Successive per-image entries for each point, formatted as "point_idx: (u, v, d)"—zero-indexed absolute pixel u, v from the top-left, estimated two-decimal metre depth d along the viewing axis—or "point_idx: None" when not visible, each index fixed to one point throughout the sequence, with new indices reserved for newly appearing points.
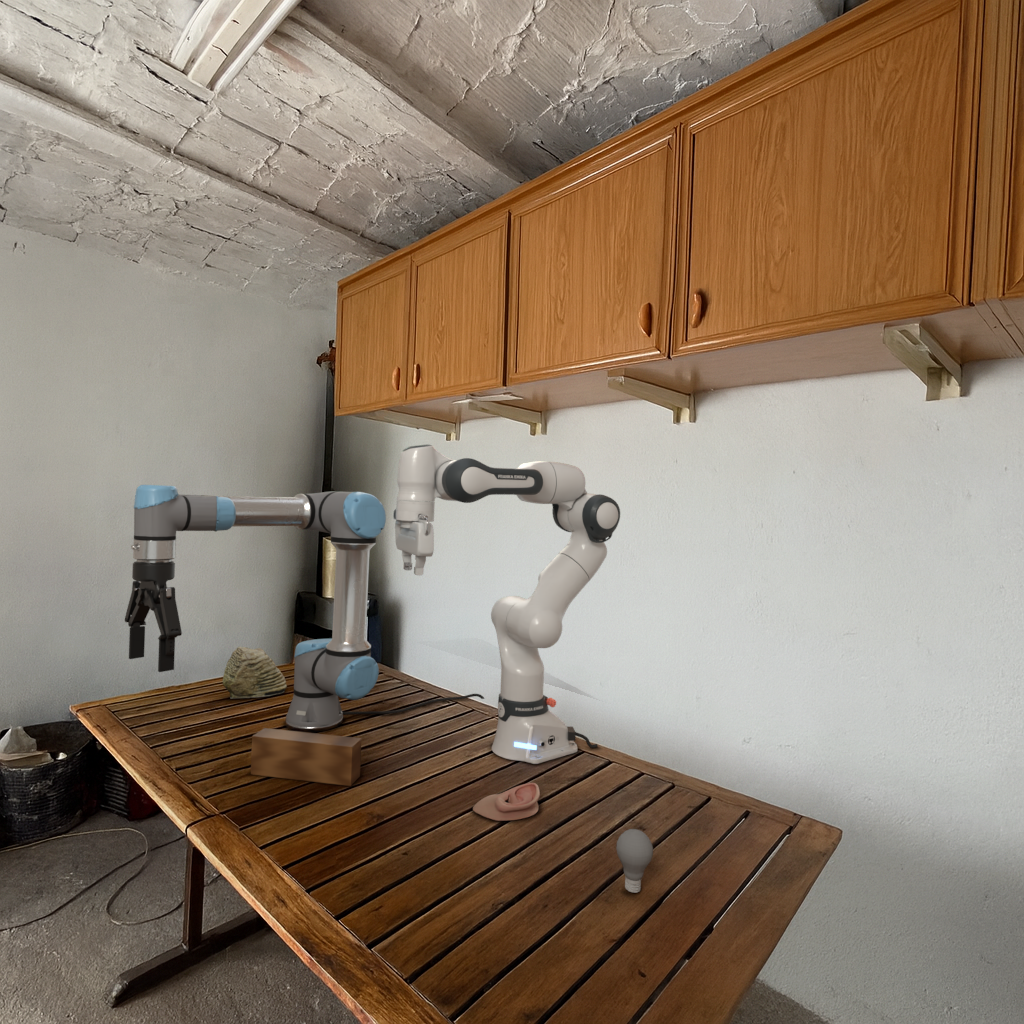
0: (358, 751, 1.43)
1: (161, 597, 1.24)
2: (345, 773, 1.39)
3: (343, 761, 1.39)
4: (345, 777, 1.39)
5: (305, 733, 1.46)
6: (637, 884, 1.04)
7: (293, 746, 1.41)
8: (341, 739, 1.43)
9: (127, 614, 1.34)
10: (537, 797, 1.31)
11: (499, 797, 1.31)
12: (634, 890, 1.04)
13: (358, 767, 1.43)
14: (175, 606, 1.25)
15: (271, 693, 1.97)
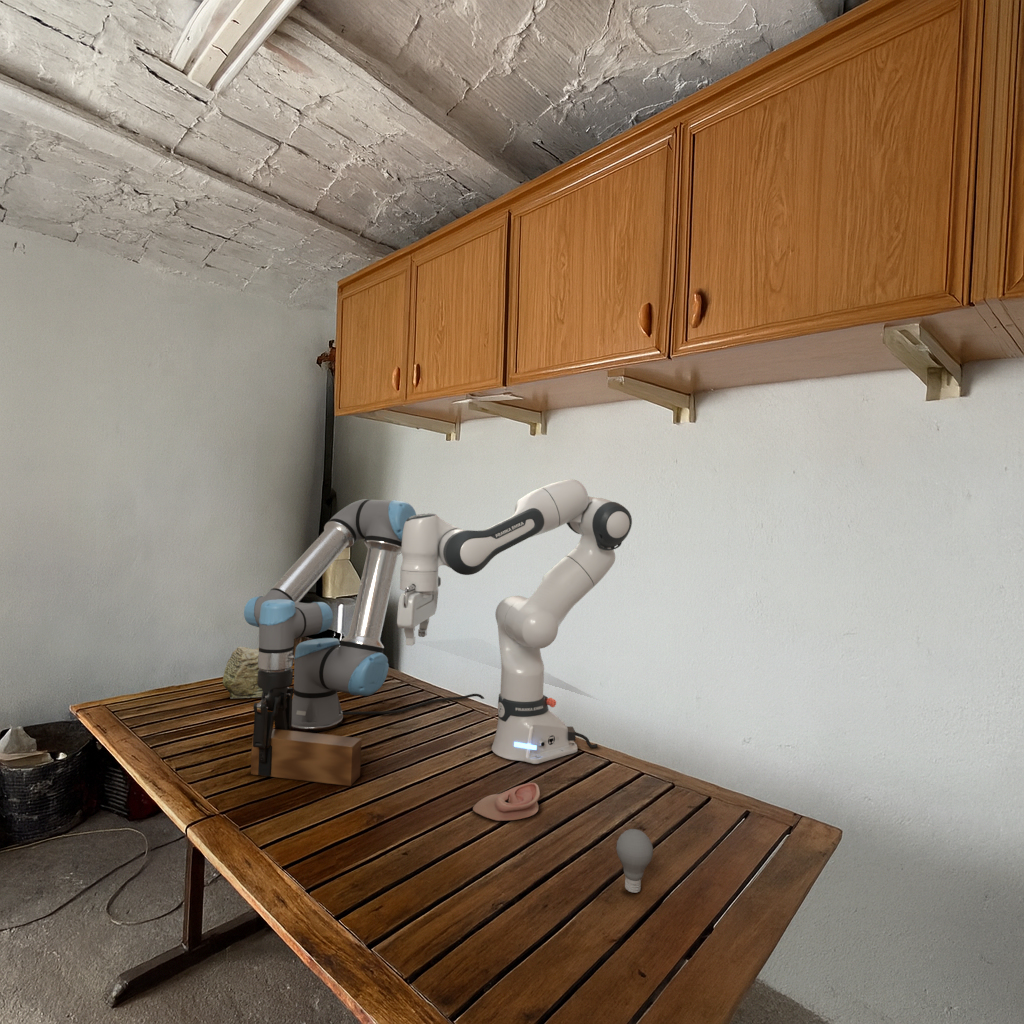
0: (358, 751, 1.43)
1: (291, 696, 1.50)
2: (345, 773, 1.39)
3: (343, 761, 1.39)
4: (345, 777, 1.39)
5: (305, 733, 1.46)
6: (637, 884, 1.04)
7: (293, 746, 1.41)
8: (341, 739, 1.43)
9: (264, 739, 1.39)
10: (537, 797, 1.31)
11: (499, 797, 1.31)
12: (634, 890, 1.04)
13: (358, 767, 1.43)
14: None
15: None
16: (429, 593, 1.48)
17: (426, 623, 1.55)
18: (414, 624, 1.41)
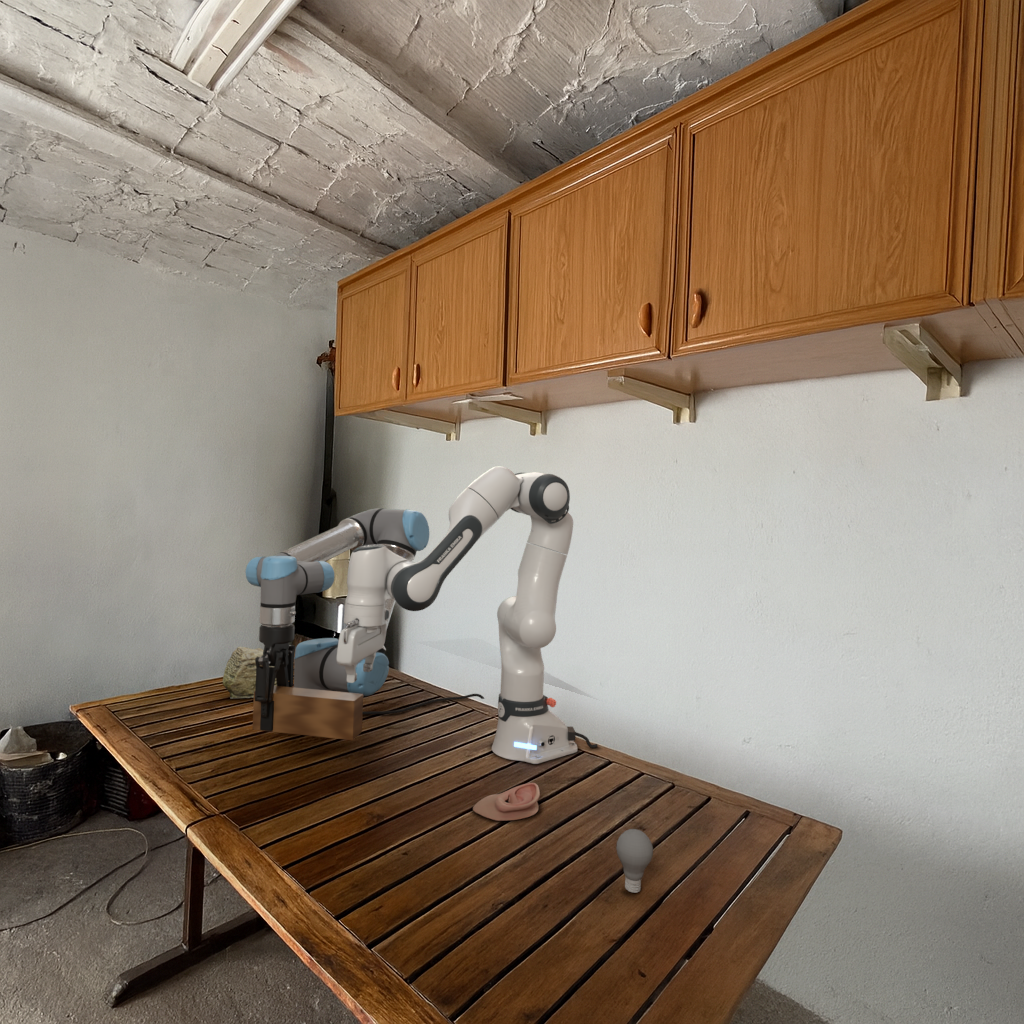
0: (360, 706, 1.43)
1: (293, 653, 1.50)
2: (346, 727, 1.39)
3: (345, 715, 1.39)
4: (347, 731, 1.39)
5: (307, 689, 1.46)
6: (637, 884, 1.04)
7: (294, 701, 1.41)
8: (343, 694, 1.43)
9: (266, 694, 1.39)
10: (537, 797, 1.31)
11: (499, 797, 1.31)
12: (634, 890, 1.04)
13: (360, 722, 1.43)
14: None
15: None
16: (374, 628, 1.42)
17: (372, 657, 1.49)
18: (355, 661, 1.35)
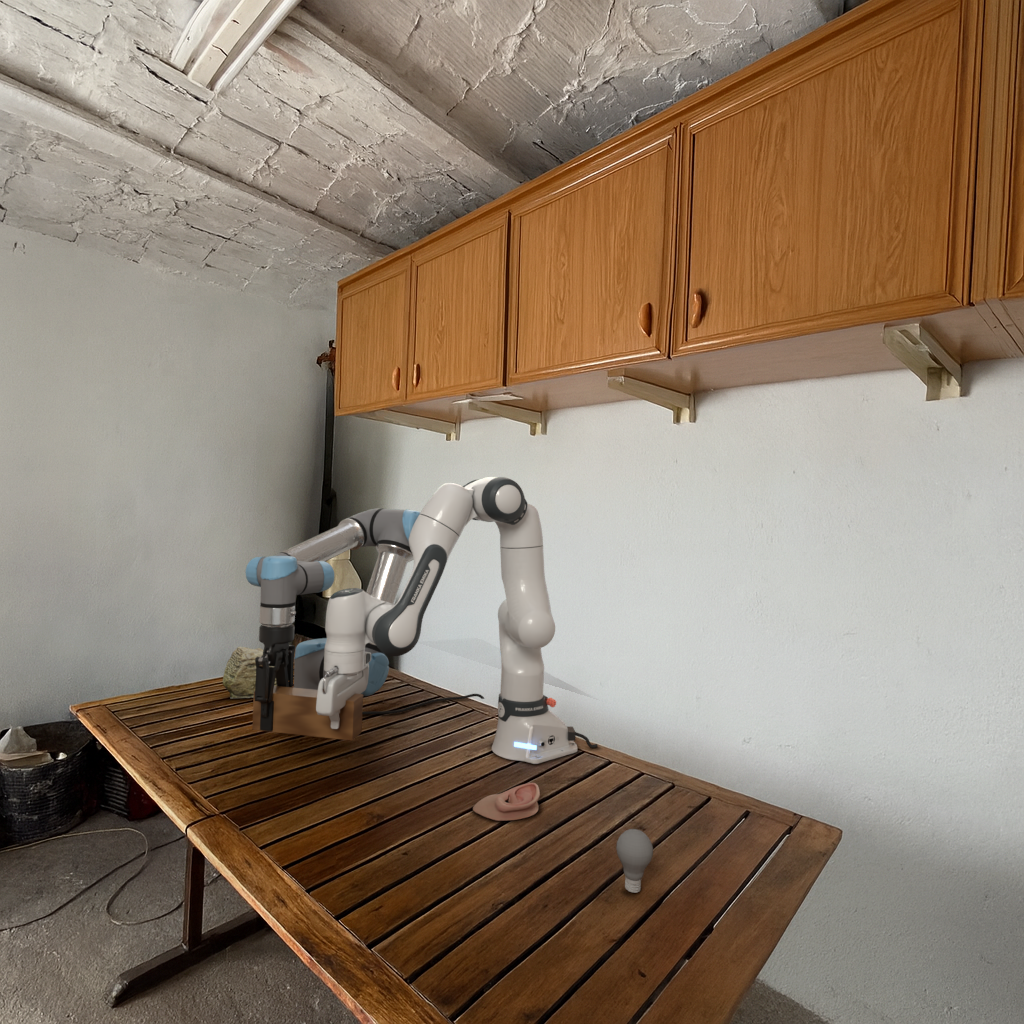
0: (359, 707, 1.42)
1: (292, 653, 1.50)
2: (346, 727, 1.39)
3: (345, 716, 1.39)
4: (347, 731, 1.39)
5: (307, 689, 1.45)
6: (637, 884, 1.04)
7: (294, 701, 1.41)
8: None
9: (266, 693, 1.39)
10: (537, 797, 1.31)
11: (499, 797, 1.31)
12: (634, 890, 1.04)
13: (360, 723, 1.43)
14: None
15: None
16: (354, 674, 1.41)
17: None
18: (335, 710, 1.34)
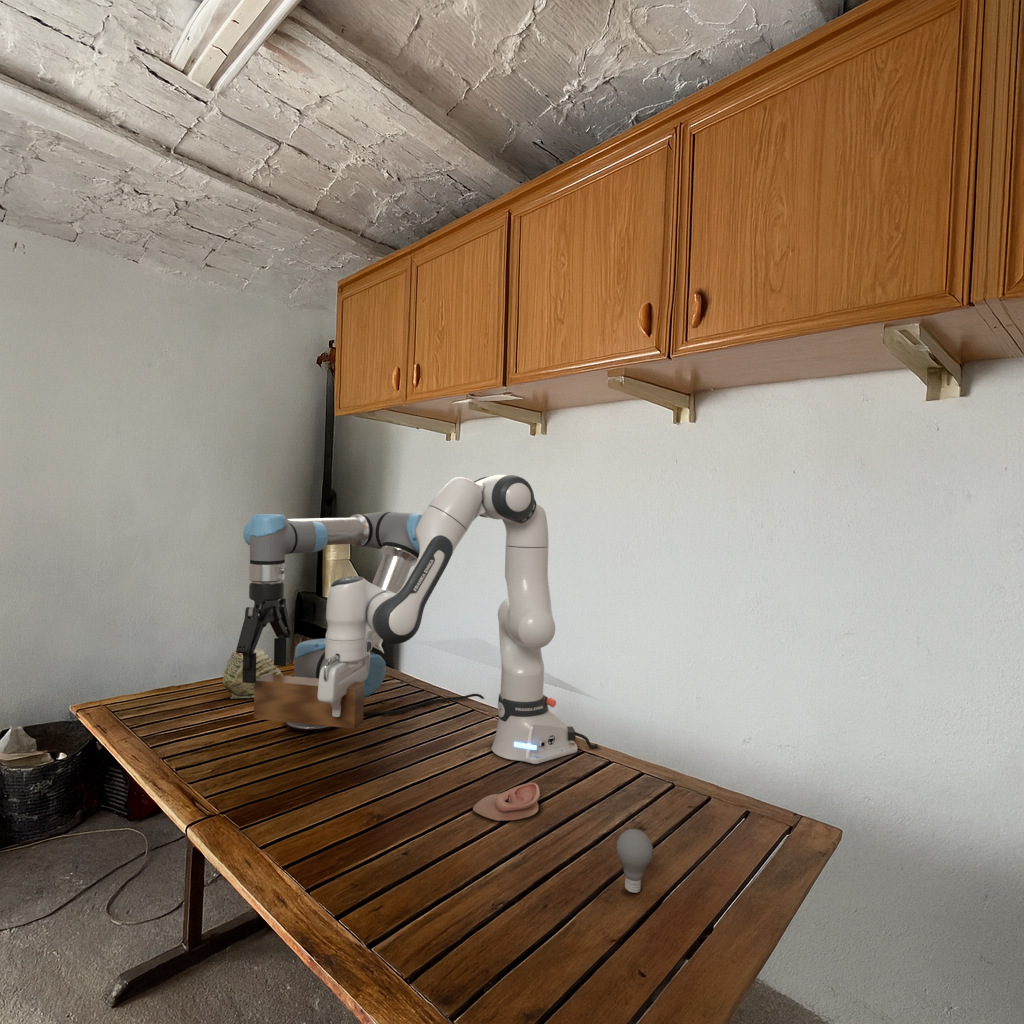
0: (361, 695, 1.42)
1: (284, 606, 1.51)
2: (348, 715, 1.39)
3: (346, 704, 1.39)
4: (348, 719, 1.39)
5: (308, 678, 1.45)
6: (637, 884, 1.04)
7: (295, 689, 1.41)
8: None
9: (249, 644, 1.36)
10: (537, 797, 1.31)
11: (499, 797, 1.31)
12: (634, 890, 1.04)
13: (361, 711, 1.43)
14: None
15: None
16: (356, 662, 1.40)
17: None
18: (336, 698, 1.34)
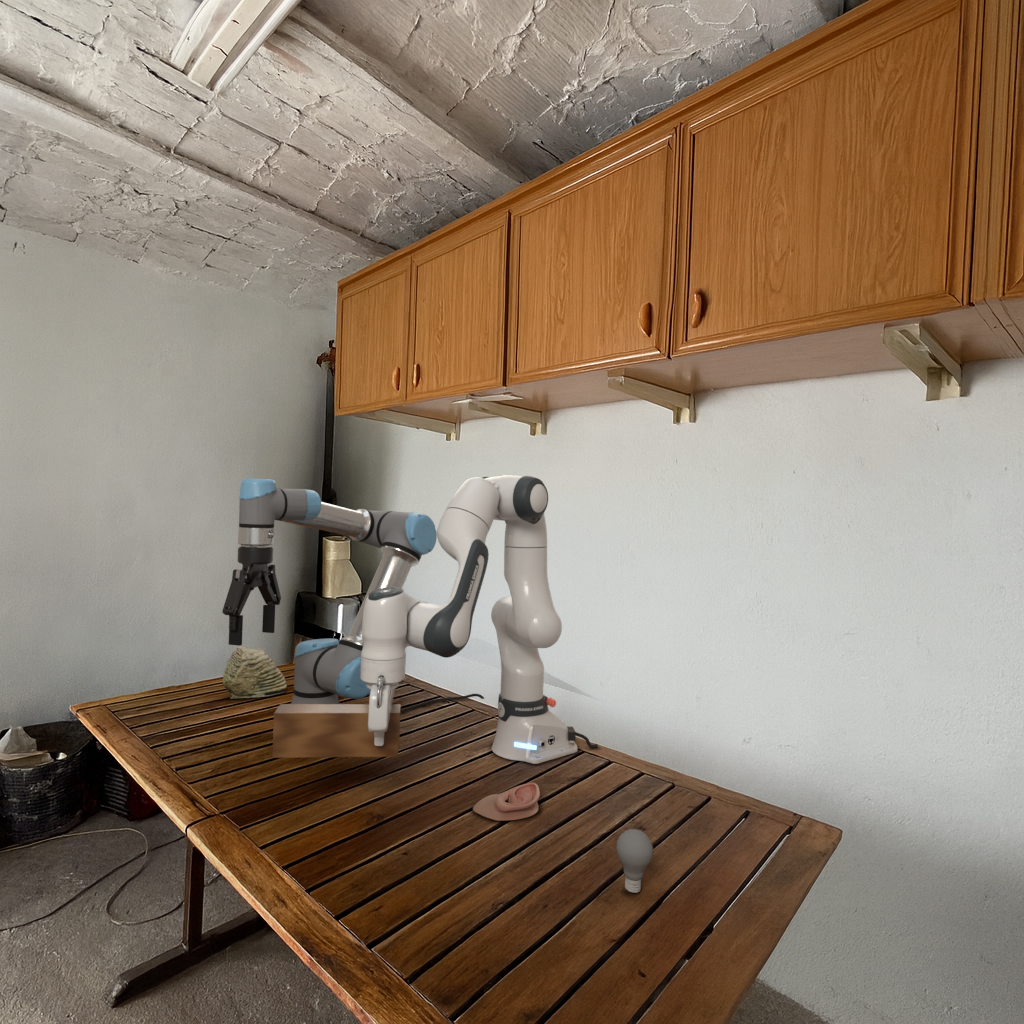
0: None
1: (274, 572, 1.51)
2: (390, 743, 1.25)
3: (388, 730, 1.25)
4: (391, 747, 1.25)
5: (333, 705, 1.28)
6: (637, 884, 1.04)
7: (326, 719, 1.23)
8: (379, 707, 1.28)
9: (235, 606, 1.36)
10: (537, 797, 1.31)
11: (499, 797, 1.31)
12: (634, 890, 1.04)
13: None
14: None
15: (271, 693, 1.97)
16: (397, 682, 1.26)
17: None
18: None
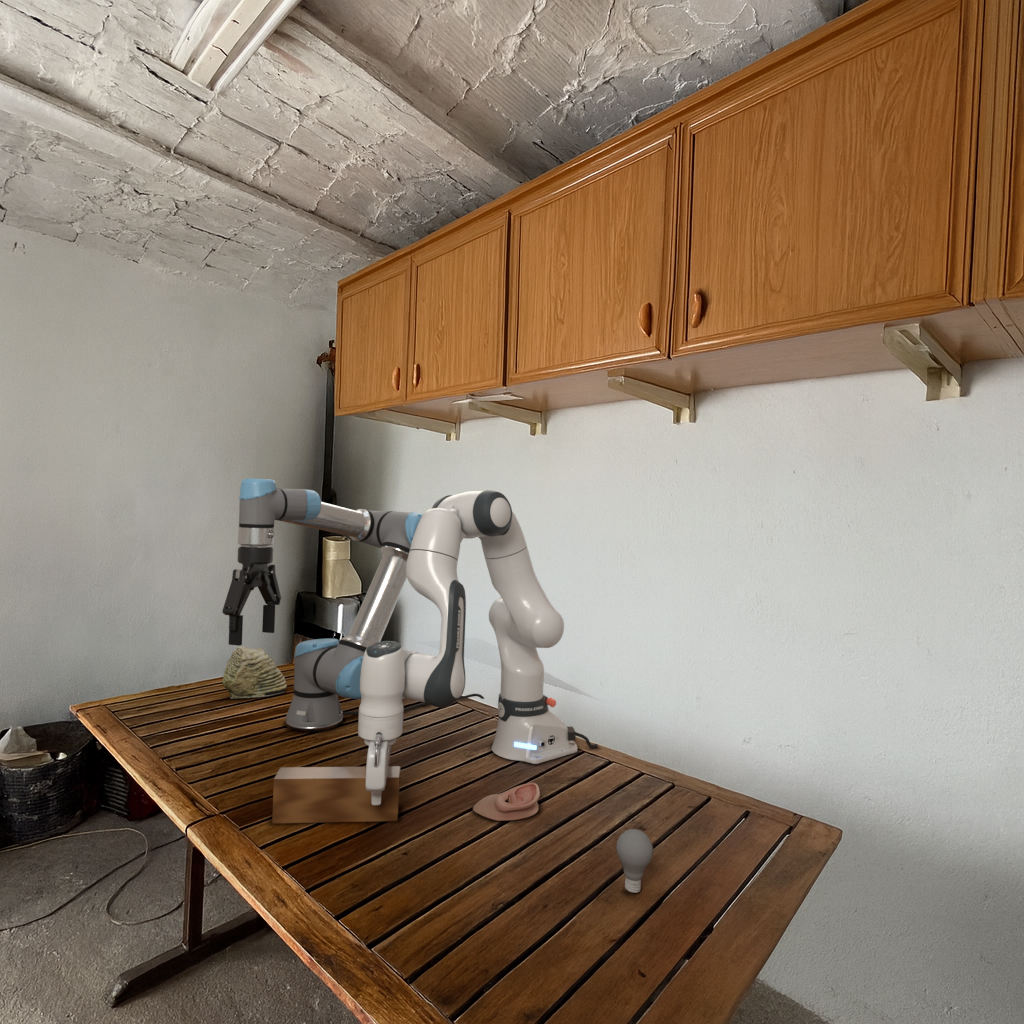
0: (399, 781, 1.29)
1: (274, 572, 1.51)
2: (390, 807, 1.25)
3: (388, 794, 1.25)
4: (391, 812, 1.25)
5: (333, 768, 1.28)
6: (637, 884, 1.04)
7: (326, 785, 1.23)
8: None
9: (235, 606, 1.36)
10: (537, 797, 1.31)
11: (499, 797, 1.31)
12: (634, 890, 1.04)
13: None
14: None
15: (271, 693, 1.97)
16: (394, 738, 1.26)
17: None
18: (385, 784, 1.19)
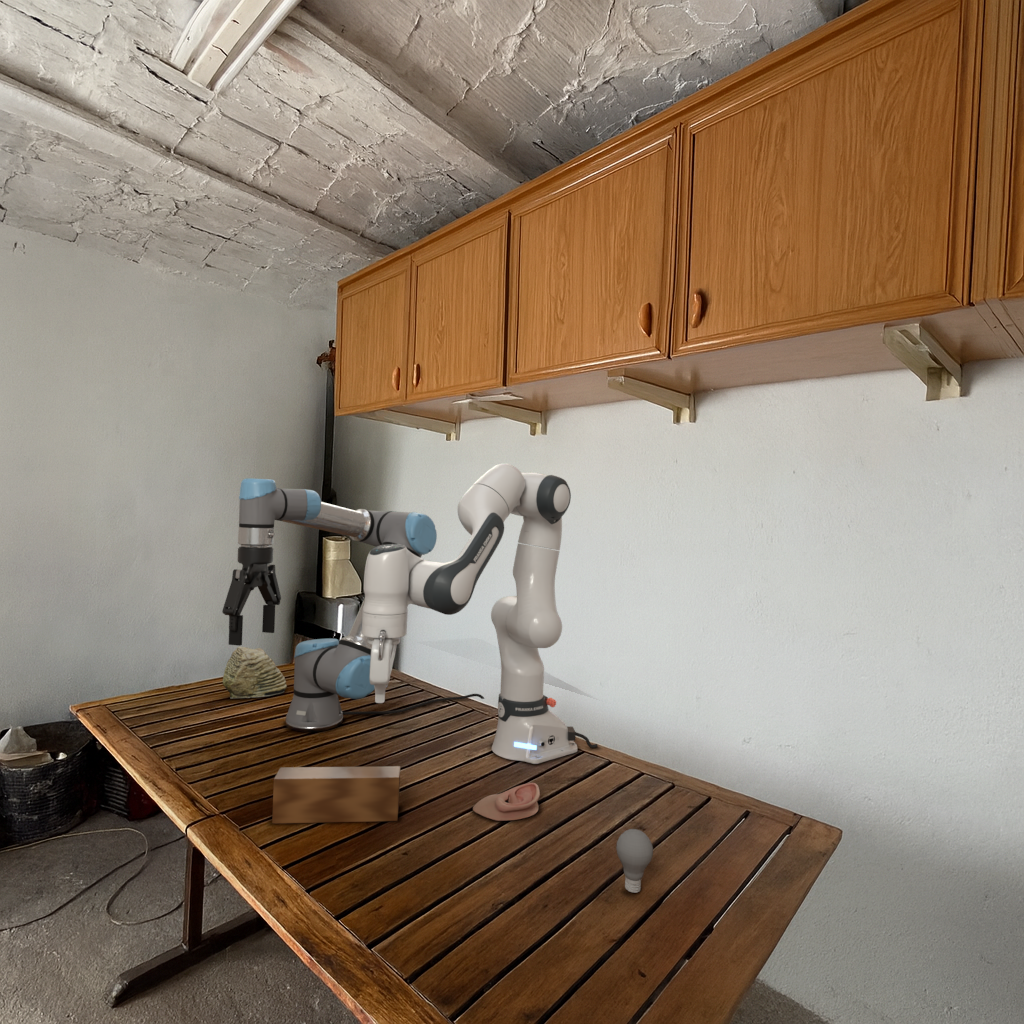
0: (399, 781, 1.29)
1: (274, 572, 1.51)
2: (390, 807, 1.25)
3: (388, 794, 1.25)
4: (391, 812, 1.25)
5: (333, 768, 1.28)
6: (637, 884, 1.04)
7: (326, 785, 1.23)
8: (379, 770, 1.28)
9: (235, 606, 1.36)
10: (537, 797, 1.31)
11: (499, 797, 1.31)
12: (634, 890, 1.04)
13: None
14: None
15: (271, 693, 1.97)
16: (398, 638, 1.26)
17: None
18: (389, 678, 1.19)
